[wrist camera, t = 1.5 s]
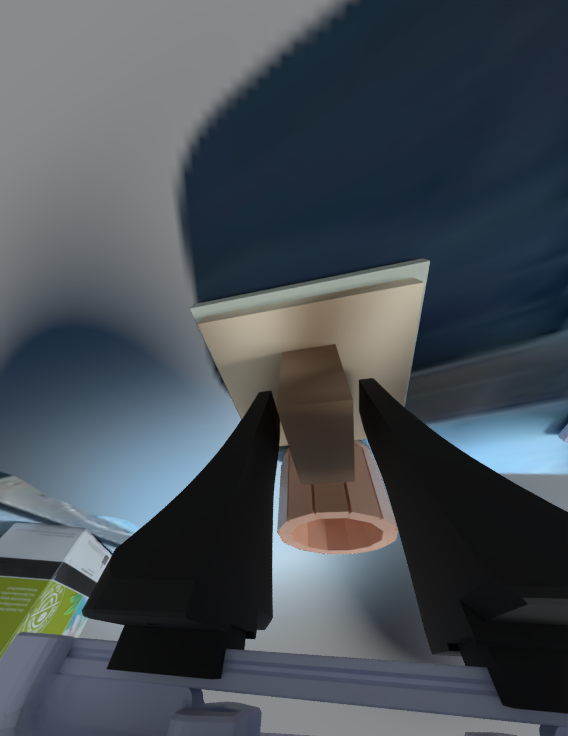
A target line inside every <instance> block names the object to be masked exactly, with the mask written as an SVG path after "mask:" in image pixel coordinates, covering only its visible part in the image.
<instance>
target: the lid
mask: <svg viewBox="0 0 568 736" xmlns="http://www.w3.org/2000/svg"><path fill="white" fill-rule="evenodd" d="M423 286H424V282H423V281H421V280H418V279H416V278H414V277H413V278H408V279H403V280H397V281H392V282H387V283H381V284H376V285H371V286H366V287H360V288H355V289H350V290H344V291H339V292H334V293H329V294H323V295H318V296H313V297H307V298H302V299H297V300H292V301H286V302H281V303H276V304H270V305H265V306H260V307H255V308H249V309H244V310H239V311H234V312H228V313H223V314H218V315H212V316H207V317H204V318H203V319H202V320H201V321H200V322H199V323H198V326H199V328H200V330H201V332H202V335H203V337H204V339H205V341H206V343H207V345H208V347H209V350H210V352H211V354H212V356H213V358H214V360H215V362H216V365H217V367H218V369H219V371H220V373H221V375H222V377H223V380H224V382H225V384H226V386H227V388H228V390H229V392H230V395H231V397H232V399H233V401H234V403H235V405H236V408H237V410H238V412H239V414H240V416H241V418H243V417H244V415H245V414H246V412H247V411H248V409H249V407H250V406H251V404H252V402H253V401H254V399H255V398H256V396H257V394H258V393H259V392H263V391H272V395H273V398H274V401H275V404H276V407H277V411H278V414H279V417H280V443H279V446H287V445H288V446H289V449H290V452H291V456H292V459H293V462H294V465H295V468H296V472H297V475H298V478H299V481H300V484H301V485H305V484H324V483H342V482H355V462H354V440H360V439H367V437H366V434H365V432H364V428H363V425H362V421H361V417H360V413H359V380H360V379H368V378H374V379H375V380H376V381H377V382H378V383H379V384H380V385H381V386H382V387H383V388H384V389H385V390H386V391H387V392H388V393H389V394H390V395H391V396H393V397H394V398H395V399H396V400H397V401H398V402H399V403H400V404H401V405H402V406H403V405H404V399H405V393H406V387H407V381H408V375H409V369H410V363H411V357H412V352H413V346H414V340H415V334H416V328H417V322H418V316H419V310H420V304H421V298H422V292H423Z"/></svg>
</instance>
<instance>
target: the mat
mask: <svg viewBox="0 0 568 736" xmlns="http://www.w3.org/2000/svg"><path fill="white" fill-rule="evenodd" d="M429 265H430V261H429V260H426V259H423V258H422V259H417V260H412V261H407V262H402V263H397V264H392V265H387V266H382V267H377V268H372V269H367V270H362V271H357V272H352V273H347V274H342V275H337V276H332V277H327V278H322V279H317V280H312V281H307V282H303V283H298V284H293V285H288V286H283V287H278V288H273V289H268V290H263V291H258V292H253V293H248V294H243V295H238V296H233V297H228V298H223V299H218V300H213V301H208V302H203V303H198V304H194V305H193V306H192V307H191V308H190V311H191V312H192V315H193V317H194V319H195V321H196V324H197V326H198V323H199V322H200V321H201V320H202V319H203V318H204V317H207V316H212V315H218V314H223V313H228V312H234V311H239V310H244V309H249V308H255V307H260V306H265V305H270V304H276V303H281V302H286V301H292V300H297V299H302V298H307V297H313V296H318V295H323V294H329V293H334V292H339V291H344V290H350V289H355V288H360V287H366V286H371V285H376V284H381V283H387V282H392V281H397V280H403V279H408V278H413V277H414V278H416V279H418V280H421V281H423V282H424V286H423V292H422V298H421V304H420V310H419V316H418V322H417V328H416V334H415V340H414V346H413V352H412V357H411V363H410V369H409V375H408V381H407V387H406V393H405V399H404V405H403V406H404V407H405V403H406V397H407V391H408V385H409V380H410V374H411V368H412V362H413V357H414V351H415V345H416V339H417V334H418V328H419V322H420V316H421V311H422V305H423V299H424V293H425V288H426V282H427V276H428V270H429ZM198 328H199V326H198ZM199 330H200V328H199ZM200 332H201V330H200ZM201 334H202V332H201ZM202 336H203V335H202ZM203 338H204V337H203ZM204 341H205V339H204ZM205 343H206V341H205ZM206 345H207V343H206ZM207 347H208V345H207ZM208 349H209V347H208ZM209 351H210V350H209ZM210 353H211V352H210ZM211 356H212V354H211ZM212 358H213V356H212ZM213 360H214V358H213ZM214 362H215V360H214ZM215 364H216V362H215ZM216 366H217V365H216ZM217 368H218V367H217ZM218 370H219V369H218ZM219 373H220V371H219ZM220 375H221V373H220ZM221 377H222V375H221ZM222 379H223V377H222ZM223 381H224V380H223ZM224 383H225V382H224ZM225 385H226V384H225ZM226 388H227V386H226ZM227 390H228V388H227ZM228 392H229V390H228ZM229 394H230V392H229ZM230 396H231V395H230ZM231 398H232V397H231ZM232 400H233V399H232ZM233 402H234V401H233ZM234 405H235V403H234ZM235 407H236V405H235ZM236 409H237V408H236ZM237 411H238V410H237ZM238 413H239V412H238ZM239 415H240V414H239ZM240 417H241V416H240ZM241 420H242V418H241Z"/></svg>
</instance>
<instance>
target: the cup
mask: <svg viewBox="0 0 568 736" xmlns="http://www.w3.org/2000/svg"><path fill="white" fill-rule="evenodd" d="M354 462H355V482H342V483H324V484H305V485H301V484H300V481H299V478H298V475H297V472H296V468H295V465H294V462H293V459H292V456H291V452H290V449H289V446H288V447H287V448H286V450H285V452H284V455H283V463H282V465H281V479H280V497H279V513H278V531H277V532H278V534H279V536H280V538H281V539H282V541H283V542H284V543H286V544H288V545H291V546H293V547H295V548H298V549H300V550H301V549H302V550H304V551H310V552H317V553H322V554H325V553H327V554H352V553H353V554H356V553H362V552H367V551H373V550H376V549H380V548H382V547H384V546H386V545H388V544H390V543H392V542H394V540H396V537H397V533H398V527H397V524H396V521H395V518H394V515H393V512H392V509H391V506H390V503H389V500H388V497H387V494H386V491H385V488H384V485H383V482H382V479H381V476H380V473H379V470H378V467H377V464H376V461H375V459H374V458H373V456H372V453H371V450H370V448H369V447H368V446H367V444H366V443H364V442H363V441H362V440H354Z"/></svg>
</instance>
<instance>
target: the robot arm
mask: <svg viewBox="0 0 568 736" xmlns="http://www.w3.org/2000/svg"><path fill="white" fill-rule="evenodd" d="M359 413H360V417H361V421H362V425H363V428H364V432H365V434H366V437H367V439H368V442H369V445H370V447H371V450H372V452H373V455H374V457H375V460H376V462H377V465H378V468H379V470H380V473H381V475H382V477H383V481H384V483H385V486H386V489H387V492H388V496H389V499H390V502H391V506H392V509H393V513H394V516H395V520H396V523H397V527H398V531H399V534H400V538H401V541H402V545H403V549H404V552H405V556H406V560H407V564H408V567H409V571H410V574H411V579H412V583H413V586H414V590H415V594H416V598H417V602H418V606H419V610H420V614H421V618H422V622H423V626H424V630H425V633H426V637H427V639H428V643H429V646H430V650H431V652H432V654H433V655H449V656H462V658H463V660H464V663H465V666H459V665H444V664H431V663H417V662H403V661H389V660H375V659H361V658H347V657H333V656H319V655H305V654H291V653H277V652H262V651H248V650H244V647H245V639H255V638H256V631H257V630H265V629H266V627H267V626H268V625H269V623H270V622H271V620H272V618H273V607H272V606H273V605H272V532H273V496H274V483H275V475H276V468H277V460H278V451H279V443H280V417H279V414H278V411H277V407H276V404H275V401H274V398H273V395H272V391H263V392H259V393H258V394H257V396H256V398H255V399H254V401H253V402H252V404H251V406H250V407H249V409H248V411H247V412H246V414H245V415H244V417H243V418H242V420H241V421H240V423H239V424H238V426H237V427H236V429H235V430H234V432H233V433H232V434H231V436H230V437H229V438H228V440H227V441H226V442H225V444H224V445H223V446H222V448H221V449H220V450H219V451H218V453H217V454H216V455H215V456H214V457H213V459H212V460H211V461H210V462H209V463H208V464H207V466H206V467H205V468H204V469H203V470H202V471H201V472H200V473H199V474H198V475H197V476H196V478H195V479H193V481H192V482H191V483H190V484H189V485H188V486H187V487H186V488H185V489H184V490H183V491H182V492H181V493H180V494H179V495H178V496H176V497H175V499H173V500H172V501H171V502H170V503H169V504H168V505H167V506H166V507H165V508H164V509H162V510H161V511H160V512H159V513H158V514H157V515H156V516H155V517H153V518H152V519H151V520H150V521H149V522H148V523H146V525H144V526H143V527H142V528H140V529H139V530H138V531H137V532H136V533H134V534H133V535H132V536H131V537H130V538H128V539H127V540H126V541H125V542H124V543H122V544H121V545H120V546H119V547H117V548H116V549H115V551H114V553H113V554H112V556H111V558H110V560H109V562H108V564H107V565H106V567H105V569H104V571H103V573H102V575H101V576H100V578H99V580H98V582H97V584H96V585H95V587H94V589H93V591H92V593H91V595H90V596H89V598H88V600H87V602H86V604H85V605H84V607H83V609H82V615H83V616H84V617H87V618H91V619H95V620H101V621H105V622H111V623H116V624H121V625H125V626H124V628H123V630H122V633H121V635H120V638H119V640H118V641H109V640H99V639H86V638H74V636H66V635H57V634H44V633H30V632H21V633H19V634H17V635H16V637H15V638H14V640H13V641H12V643H11V644H10V645H9V647H8V648H7V650H6V651H5V653H4V654H3V656H2V657H1V659H0V736H308V735H292V734H276V733H261V732H260V726H261V710H260V708H258V707H254V706H250V705H246V704H242V703H236V702H217V703H206V704H205V703H204V700H203V693H202V691H201V689H205V690H215V691H224V692H234V693H243V694H254V695H263V696H272V697H282V698H292V699H302V700H311V701H320V702H330V703H339V704H349V705H359V706H368V707H377V708H388V709H396V710H407V711H415V712H425V713H435V714H444V715H455V716H463V717H474V718H482V719H492V720H502V721H511V722H521V723H530V724H540V729H539V732H540V736H568V512H567V511H564V510H563V509H561V508H559V507H557V506H555V505H553V504H551V503H549V502H547V501H546V500H544V499H542V498H540V497H538V496H537V495H535V494H533V493H531V492H529V491H528V490H526V489H524V488H522V487H520V486H519V485H517V484H515V483H513V482H512V481H510V480H508V479H507V478H505V477H503V476H501V475H500V474H498V473H497V472H495V471H493V470H492V469H490V468H488V467H487V466H485V465H483V464H482V463H480V462H478V461H477V460H475V459H473V458H472V457H470V456H469V455H467V454H466V453H464V452H463V451H461V450H460V449H458V448H457V447H455V446H454V445H452V444H451V443H450V442H448V441H447V440H445V439H444V438H442V437H441V436H440V435H438V434H437V433H436V432H434V431H433V430H432V429H430V428H429V427H428V426H427V425H425V424H424V423H423V422H421V421H420V420H419V419H418V418H417V417H415V416H414V415H413V414H412V413H411V412H409V411H408V410H407V409H406V408H405V407H404V406H402V405H401V404H400V403H399V402H398V401H397V400H396V399H395V398H394V397H393V396H391V395H390V394H389V393H388V392H387V391H386V390H385V389H384V388H383V387H382V386H381V385H380V384H379V383H378V382H377V381H376V380H375V379H374V378H368V379H360V380H359ZM558 437H559V438H560V439H561V440H563V441H564V442H568V423H567V425H566V426H565V427H564V428H563V429H562V431H561V432H560V433H559V435H558ZM465 736H516V735H510V734H504V733H491V732H489V733H488V732H483V733H482V732H465Z"/></svg>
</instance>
